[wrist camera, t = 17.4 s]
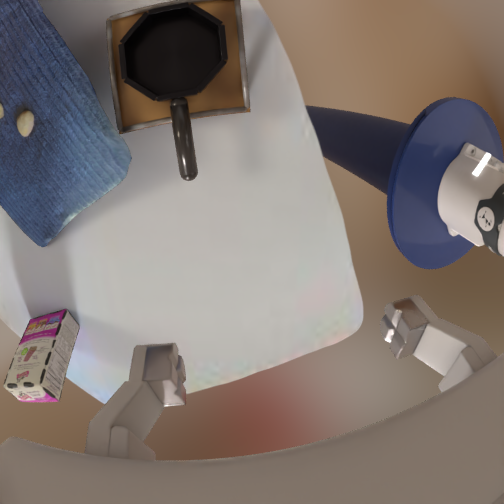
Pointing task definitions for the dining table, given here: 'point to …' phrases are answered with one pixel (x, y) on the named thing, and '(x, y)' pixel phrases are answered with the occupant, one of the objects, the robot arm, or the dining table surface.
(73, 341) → the candy bar box
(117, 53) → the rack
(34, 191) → the blue piece
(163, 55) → the pan
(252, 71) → the dining table surface
